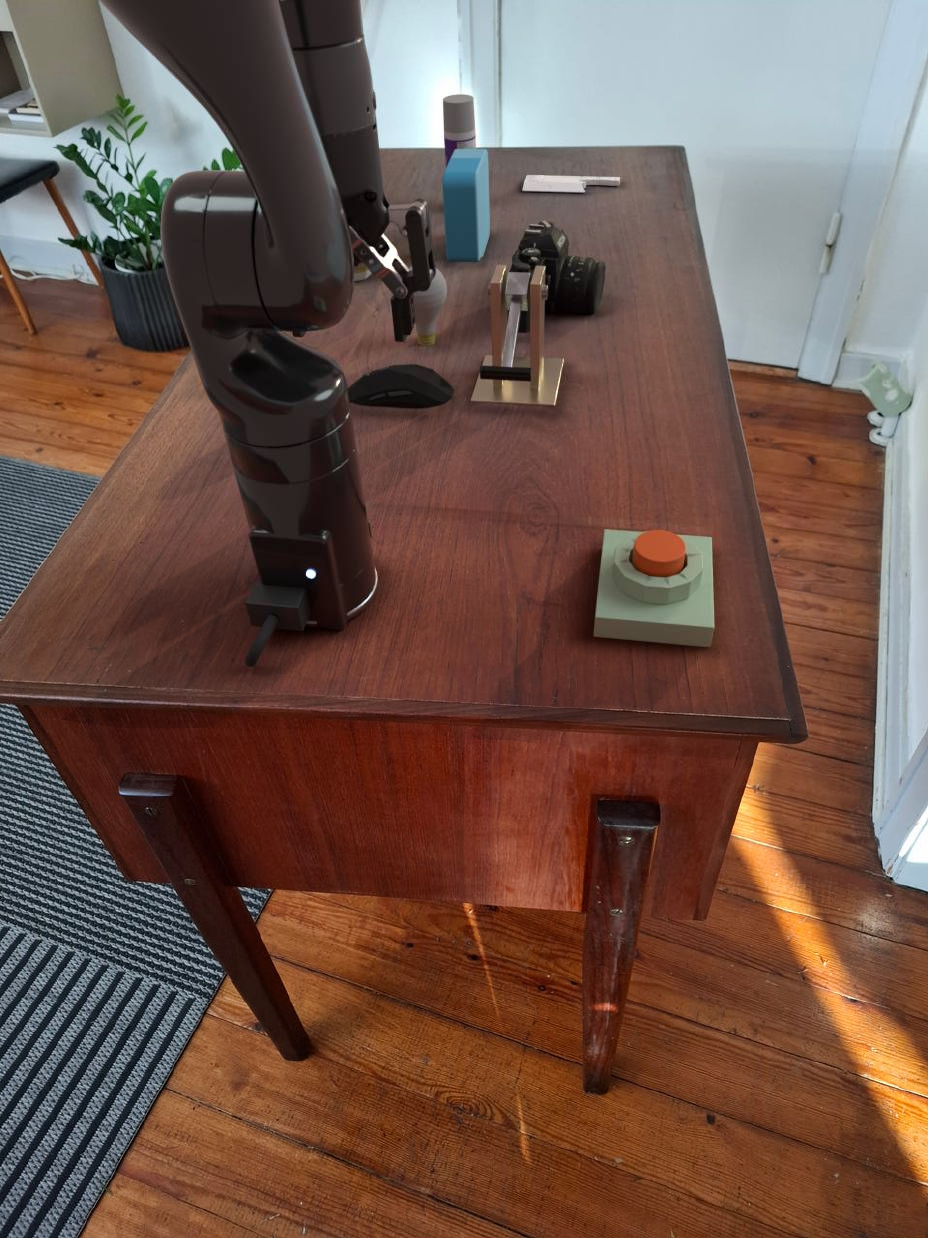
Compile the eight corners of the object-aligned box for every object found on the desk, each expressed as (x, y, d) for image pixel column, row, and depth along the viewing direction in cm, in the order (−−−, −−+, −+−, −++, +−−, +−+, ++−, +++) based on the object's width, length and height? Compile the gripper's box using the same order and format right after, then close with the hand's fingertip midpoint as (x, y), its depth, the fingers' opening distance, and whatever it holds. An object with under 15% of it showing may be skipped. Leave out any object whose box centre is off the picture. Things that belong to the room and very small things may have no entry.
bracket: (554, 414, 94) (557, 297, 85) (470, 409, 96) (465, 294, 87) (563, 367, 101) (567, 254, 92) (485, 364, 103) (482, 252, 94)
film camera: (613, 343, 105) (619, 258, 98) (508, 347, 105) (507, 263, 98) (596, 279, 118) (600, 200, 111) (502, 283, 118) (501, 205, 111)
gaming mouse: (327, 384, 101) (322, 352, 98) (457, 386, 99) (455, 353, 97) (314, 414, 96) (308, 380, 94) (450, 417, 95) (448, 383, 92)
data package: (459, 234, 131) (455, 145, 123) (490, 234, 130) (488, 145, 122) (446, 268, 122) (441, 175, 114) (479, 268, 122) (476, 175, 113)
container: (443, 204, 140) (436, 97, 129) (470, 198, 141) (465, 91, 131) (455, 214, 137) (450, 104, 126) (482, 208, 138) (479, 99, 127)
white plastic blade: (616, 193, 139) (617, 186, 139) (522, 191, 142) (522, 184, 142) (619, 182, 143) (620, 174, 142) (527, 180, 146) (527, 173, 145)
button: (683, 580, 69) (686, 563, 68) (631, 576, 70) (633, 559, 69) (683, 548, 72) (686, 531, 71) (633, 544, 73) (635, 527, 72)
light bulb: (444, 361, 104) (439, 276, 97) (399, 358, 105) (390, 274, 98) (454, 339, 107) (449, 256, 100) (410, 336, 108) (403, 254, 101)
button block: (710, 647, 69) (718, 610, 66) (593, 636, 70) (596, 599, 68) (708, 556, 77) (715, 519, 74) (602, 548, 78) (605, 511, 75)
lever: (531, 387, 88) (530, 372, 86) (481, 385, 89) (478, 370, 86) (544, 289, 92) (543, 272, 90) (496, 287, 93) (494, 271, 91)
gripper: (203, 130, 60) (253, 353, 71) (410, 131, 58) (427, 362, 69) (242, 99, 65) (283, 311, 76) (433, 99, 63) (446, 318, 74)
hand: (351, 335), depth 73 cm, fingers open, 8 cm apart
